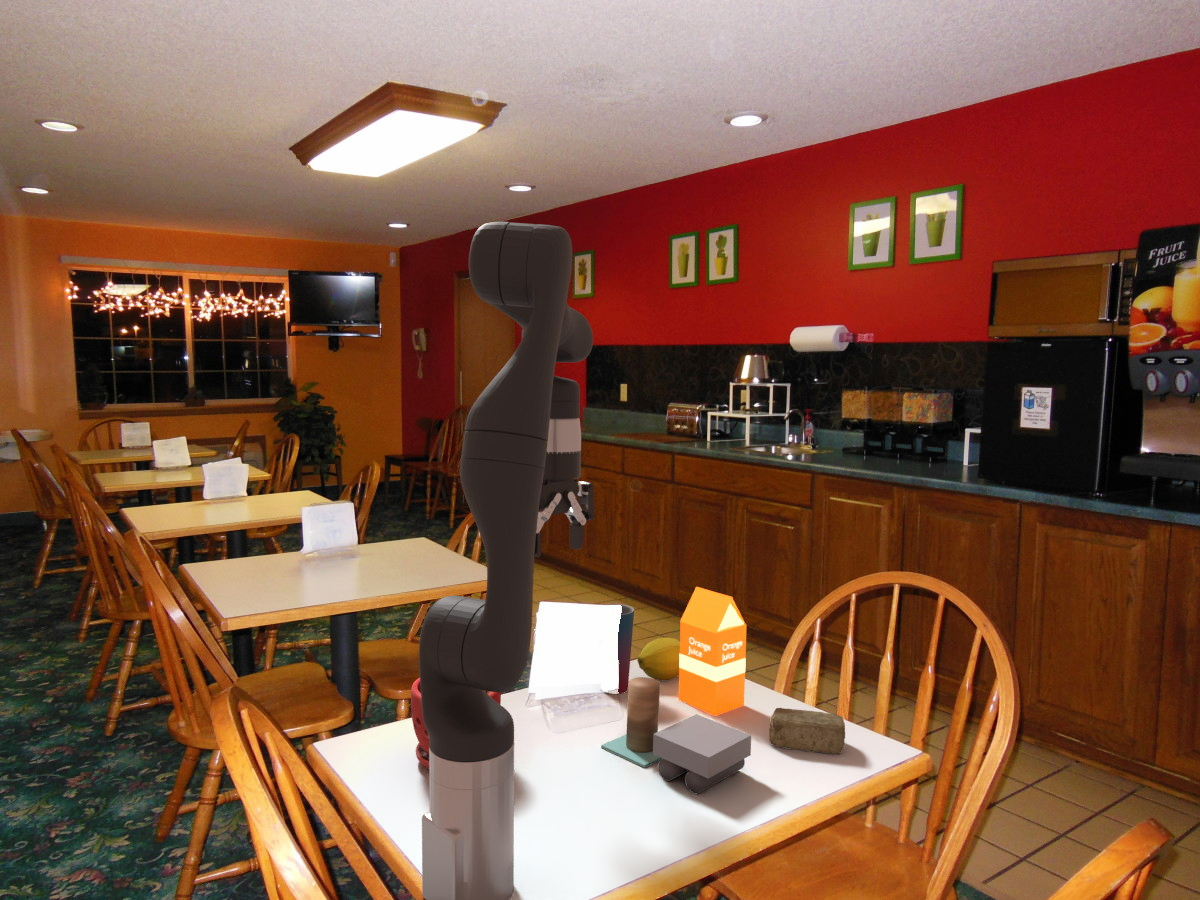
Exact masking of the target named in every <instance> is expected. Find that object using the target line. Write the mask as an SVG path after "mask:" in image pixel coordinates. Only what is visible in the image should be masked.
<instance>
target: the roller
mask: <svg viewBox="0 0 1200 900" xmlns="http://www.w3.org/2000/svg"><path fill="white" fill-rule="evenodd" d="M627 692H628V693H627V713H626V715H627V716H626V746H627V748H628V749H630V750H632V751H635V752H639V753H647V752H652V751H653V734H654V733H657V732H659V714H660V711H659V710H660V693H661V683H660V681H659V680H656V679H653V678H651V677H647V676H645V677H644V676H637V677H633V678H631V679H630V680H629V683H628V690H627Z"/></svg>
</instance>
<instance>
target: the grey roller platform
mask: <svg viewBox="0 0 1200 900" xmlns="http://www.w3.org/2000/svg"><path fill="white" fill-rule="evenodd" d="M751 752H752V734H749V733H747V732H744V731H741V730H739V729H737V728H734V727H731V726H729V725H726V724H723V723H721V722H718V721H716V720H714V719H709V718H707V717H705V716H703V715H699V714H698V713H696V714H694V715H692V716H690V717H688V718H686V719H683V720H681V721H678V722H676V723H675V724H672V725H670V726H668V727H666V728H664V729H661V730H658V732H657V733H654V734H653V754H654V755H656V756H659V757H661V758H663V759H661V760H659V761H658V764H657V771H658V772H659V775H660V777H661V778H663V780H665V781H672V780H674V779H676V778H677V777H680V776H682V775H683V774H685V776H684V782H685V785H686V787H687V789H688V790H689V791H690V792H691V793H693V794H699V793H702V792H703V791H705V790H707V789H708V788H710V787H712V786H714V785H716V784H718V783H719V782H720V781H721V782H722V781H723V780H724V779H726V778H728V777H730V776H731V775H733V774H735V773H737V772H739V771H740V770H743V768H744V767H745V759H746V758H748V757H750V756H751V754H752V753H751Z"/></svg>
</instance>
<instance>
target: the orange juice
mask: <svg viewBox="0 0 1200 900" xmlns="http://www.w3.org/2000/svg"><path fill="white" fill-rule="evenodd" d="M679 622H680V628H679V630H680V631H679V633H680V634H679V635H680V636H679V642H680V653H679V676H678V679H679V680H678V701H680V700H681V701H680V702H682V701H683V703H684V702H686V703H688V704H687V705H689V704H690V705H689V706H691V705H692V706H691V707H693V706H694V708H695V707H696V709H698V710H700V709H701V710H700V711H702V710H703V712H704V711H705V713H707V714H709V715H711V716H713V715H714V717H716V715H717V716H720V715H721V714H724V713H727V712H730V711H732V709H733V710H735V709H738V708H740V707H743V706H745V689H746V688H745V685H746V684H745V683H746V679H745V678H746V668H747V667H746V662H747V661H746V658H747V657H746V652H747V626H748V625H747V623H745V621H744V618H743V616H742V615H741V612H740V610H739V609H738V607H737V604H736V603H735V600H734V597H733V596H730V595H727V594H723V593H719V592H716V591H714V590H713V591H712V590H709V589H705V588H703V587H699V586H696V587H695V589H694V591H693V593H692V595H691V597H690V599H689V601H688V603H687V606H686V608H685V610H684V612H683V614H682V617H681V618H680V621H679ZM686 703H685V704H686Z"/></svg>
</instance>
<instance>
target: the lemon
mask: <svg viewBox="0 0 1200 900" xmlns="http://www.w3.org/2000/svg"><path fill="white" fill-rule="evenodd" d="M679 653H680V640H678V639H677V638H674V637H673V638H672V637H659V638H655V639H652V640H651V641H650V642H648V643H647V644H645V645H644V647H643V648H642V650H641V652H640V653H639V655H638V657H637V663H638V667H639V668H640V670H641V671H643V673H645V675H646V676H648V678H652V679H655V680H657V681H659V682H660V681H663V682H665V681H666V682H667V681H672V680H674V679H676V678H679Z"/></svg>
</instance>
